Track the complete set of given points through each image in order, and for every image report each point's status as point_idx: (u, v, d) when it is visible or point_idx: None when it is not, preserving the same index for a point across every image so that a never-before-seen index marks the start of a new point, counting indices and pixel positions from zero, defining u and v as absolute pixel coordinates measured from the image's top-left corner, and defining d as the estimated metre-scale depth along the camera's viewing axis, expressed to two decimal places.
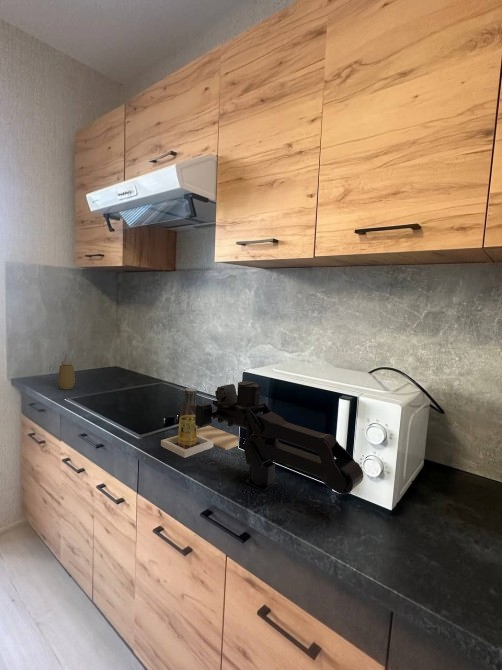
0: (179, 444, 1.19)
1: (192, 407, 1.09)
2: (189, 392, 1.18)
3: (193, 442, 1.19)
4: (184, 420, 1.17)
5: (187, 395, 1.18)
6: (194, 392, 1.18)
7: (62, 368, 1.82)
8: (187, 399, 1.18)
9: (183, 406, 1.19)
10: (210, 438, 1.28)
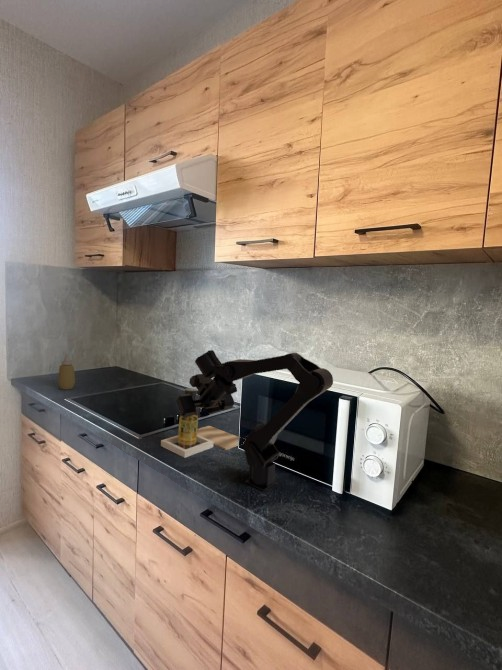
0: (179, 444, 1.19)
1: None
2: (189, 392, 1.18)
3: (193, 442, 1.19)
4: (184, 420, 1.17)
5: None
6: (194, 392, 1.18)
7: (62, 368, 1.82)
8: None
9: None
10: (210, 438, 1.28)
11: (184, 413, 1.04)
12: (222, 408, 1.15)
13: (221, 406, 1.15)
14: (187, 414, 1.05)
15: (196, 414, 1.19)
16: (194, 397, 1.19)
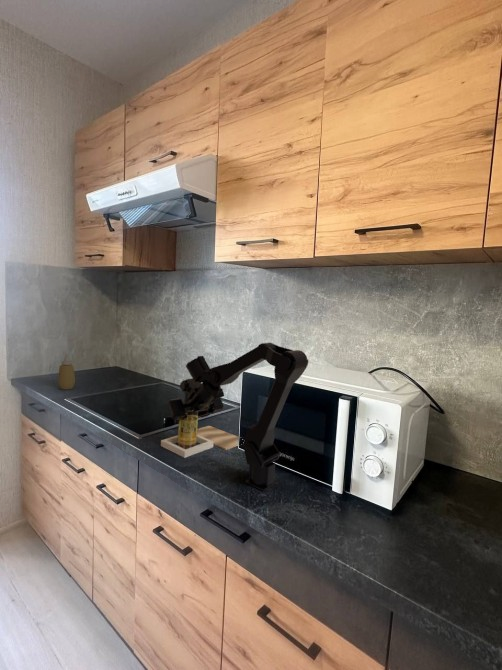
0: (179, 444, 1.19)
1: None
2: None
3: (193, 442, 1.19)
4: (184, 420, 1.17)
5: None
6: None
7: (62, 368, 1.82)
8: (186, 399, 1.18)
9: None
10: (210, 438, 1.28)
11: (174, 416, 1.09)
12: (208, 412, 1.19)
13: (207, 410, 1.19)
14: (177, 417, 1.10)
15: (196, 414, 1.19)
16: None
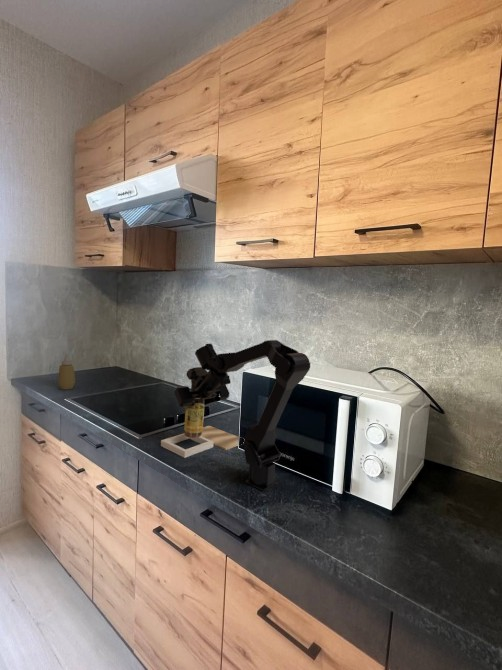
0: (186, 432, 1.20)
1: (184, 405, 1.20)
2: None
3: (200, 430, 1.20)
4: (191, 408, 1.19)
5: (193, 384, 1.19)
6: None
7: (62, 368, 1.82)
8: (193, 388, 1.20)
9: None
10: (210, 438, 1.28)
11: (182, 403, 1.10)
12: (214, 400, 1.20)
13: (214, 398, 1.21)
14: (185, 404, 1.11)
15: (202, 402, 1.20)
16: None
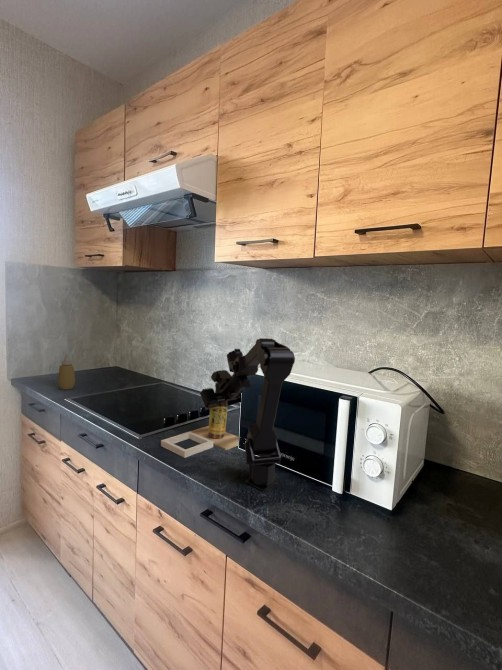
0: (210, 434, 1.28)
1: (205, 406, 1.27)
2: None
3: (223, 432, 1.28)
4: (215, 411, 1.27)
5: (218, 388, 1.27)
6: None
7: (62, 368, 1.82)
8: (217, 392, 1.27)
9: None
10: (210, 438, 1.28)
11: (208, 404, 1.18)
12: (240, 401, 1.29)
13: (239, 399, 1.29)
14: (210, 405, 1.19)
15: (226, 406, 1.28)
16: None
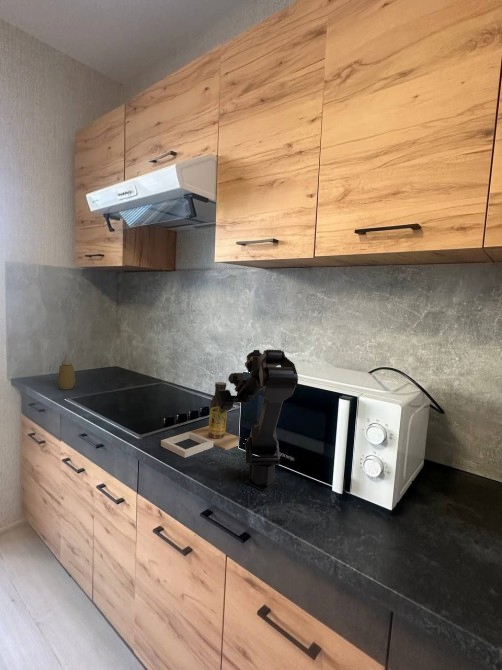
0: (210, 434, 1.28)
1: (220, 410, 1.21)
2: (219, 385, 1.27)
3: (223, 432, 1.28)
4: (215, 411, 1.27)
5: (217, 388, 1.27)
6: (224, 385, 1.27)
7: (62, 368, 1.82)
8: None
9: (213, 398, 1.28)
10: (210, 438, 1.28)
11: (223, 406, 1.12)
12: None
13: None
14: (225, 407, 1.13)
15: None
16: None
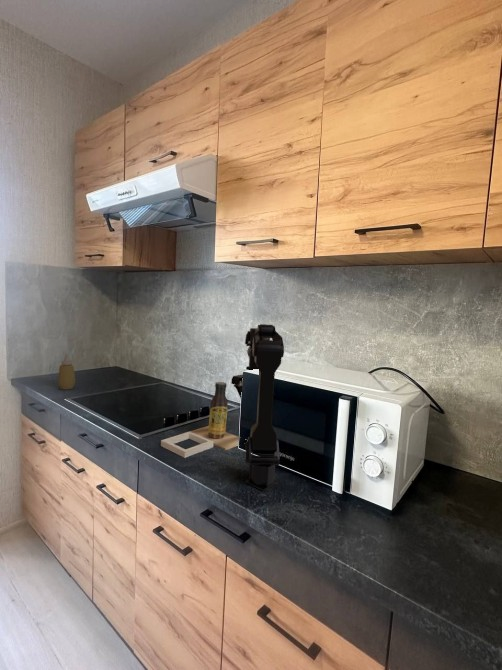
0: (210, 434, 1.28)
1: None
2: (219, 385, 1.27)
3: (223, 432, 1.28)
4: (215, 411, 1.27)
5: (218, 388, 1.27)
6: (224, 385, 1.27)
7: (62, 368, 1.82)
8: (217, 392, 1.27)
9: (214, 398, 1.28)
10: (210, 438, 1.28)
11: None
12: None
13: None
14: (233, 381, 1.28)
15: (226, 406, 1.28)
16: (224, 390, 1.28)
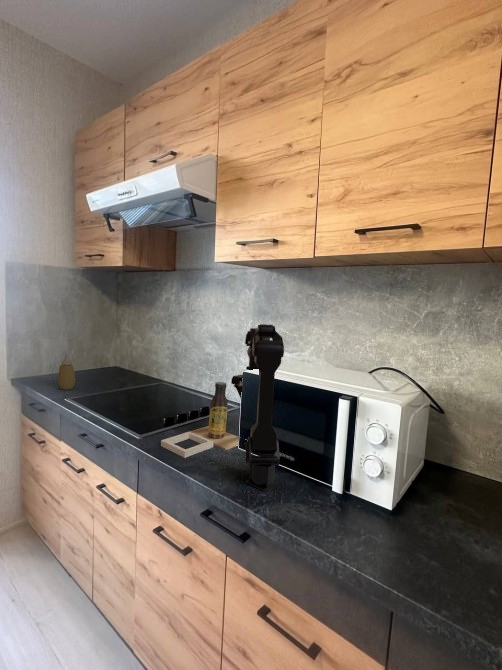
0: (210, 434, 1.28)
1: None
2: (219, 385, 1.27)
3: (223, 432, 1.28)
4: (215, 411, 1.27)
5: (217, 388, 1.27)
6: (224, 385, 1.27)
7: (62, 368, 1.82)
8: (217, 392, 1.27)
9: (214, 398, 1.28)
10: (210, 438, 1.28)
11: None
12: None
13: None
14: (233, 381, 1.28)
15: (226, 406, 1.28)
16: (224, 390, 1.28)
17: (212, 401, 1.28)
